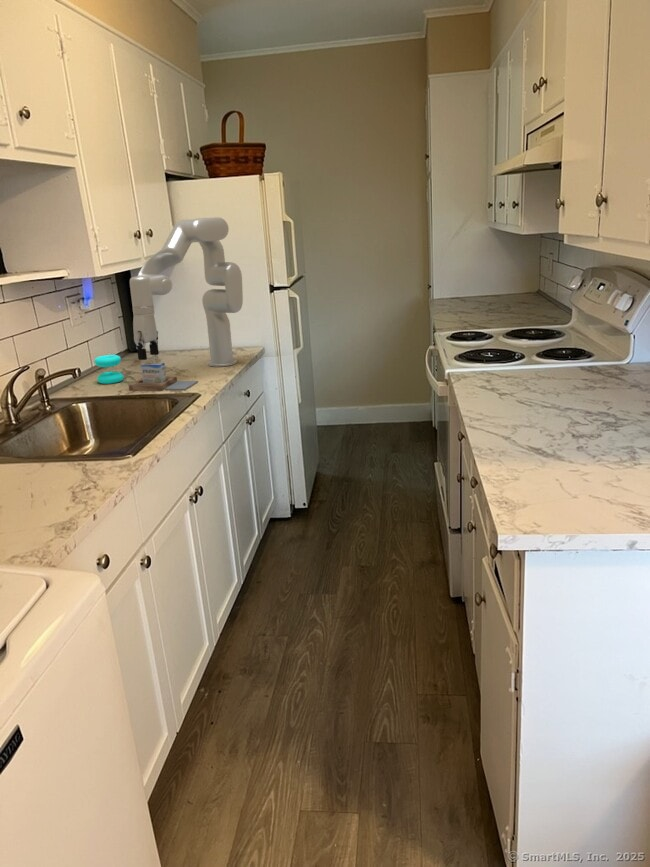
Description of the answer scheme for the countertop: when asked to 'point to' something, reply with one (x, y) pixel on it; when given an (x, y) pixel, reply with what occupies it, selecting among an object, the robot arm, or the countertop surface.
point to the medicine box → (153, 372)
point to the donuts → (111, 375)
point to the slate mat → (181, 385)
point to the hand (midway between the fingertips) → (148, 357)
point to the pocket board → (152, 385)
